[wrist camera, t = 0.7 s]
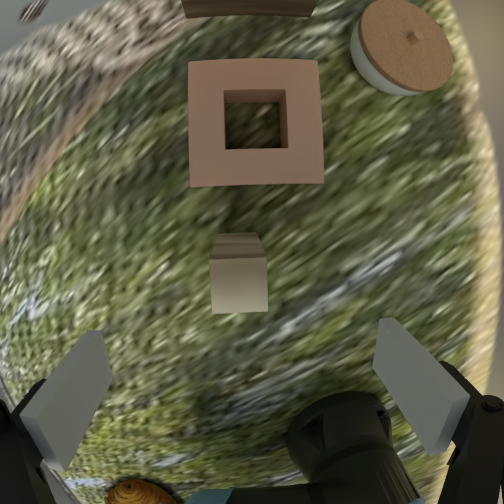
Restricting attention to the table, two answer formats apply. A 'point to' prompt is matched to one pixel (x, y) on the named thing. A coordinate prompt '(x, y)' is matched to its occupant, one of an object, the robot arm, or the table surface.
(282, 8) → the capped wooden panel
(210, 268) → the peg
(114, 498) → the croissant
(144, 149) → the table surface
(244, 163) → the socket block
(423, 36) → the lidded jar
